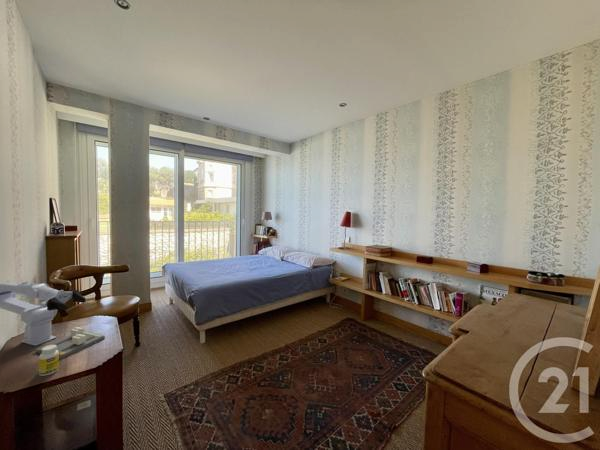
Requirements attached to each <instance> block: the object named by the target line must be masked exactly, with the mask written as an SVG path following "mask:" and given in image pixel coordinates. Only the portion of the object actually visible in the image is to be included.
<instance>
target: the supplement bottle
mask: <svg viewBox="0 0 600 450" xmlns="http://www.w3.org/2000/svg"><path fill="white" fill-rule="evenodd" d="M56 349H57V346H56V345H49V346H46V347H44V348H42V354H41V353H40V355H39V356H38V357H39V358H38V375H39V376H41V377H42V376H45V377H46V376H49V375H50V376H51V375H52V374H54V373H56V372H57V371H58V370H59V365H60V364H59V362H60V359H59V351H58V350H56Z"/></svg>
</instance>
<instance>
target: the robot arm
mask: <svg viewBox="0 0 600 450" xmlns="http://www.w3.org/2000/svg"><path fill="white" fill-rule="evenodd" d="M17 295H19V296H26V297H27V298H28V300H32V299H39V300H42V301H41V302H40V304H39V305H35V304H33V303H29V302H27V301H24V300H20V299H18V298H16V297H17ZM71 299H72V303H76V302H77V303H82V304H83V303H86V297H85V296H83V295H82V294H81V291H80V290H79V289H75V290H72V291H65V290H64V289H61V290H58V289H55V288H52V287H50V285H49V284H48V283H46V282H41V283H36V282H32V283H30V282H29V281H23V282H21V283H16V282H14V281H12V280H11V281H9V280H8V281H4V282H0V309H1V310H5V311H8V312H11V313H14V314H17V315H20V318H21V319H20V320H21V322H23V323H25V326H24V330H23V331H24V335H23V336H24V338H23V339H22V340H21V342H22V343H24V344H27V345H32V346H38V345H42V344H44V343H46V342H49V341H52V340H54V339H56V338H57V336H55V335H52V320H54V318H55V317H56V315H57V312H58V310H60V311H63V310H64V311H66V310H68V304H67V302H68V301H69V300H71Z"/></svg>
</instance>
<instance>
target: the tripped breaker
mask: <svg viewBox="0 0 600 450" xmlns="http://www.w3.org/2000/svg"><path fill="white" fill-rule="evenodd" d="M84 342H86V335H82V334H76V335H75V336H73V337H72V344H76V345H80V344H82V343H84Z"/></svg>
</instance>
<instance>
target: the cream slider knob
mask: <svg viewBox="0 0 600 450" xmlns="http://www.w3.org/2000/svg"><path fill="white" fill-rule="evenodd" d="M84 331H85V330H84V328H83V327H79V326H77V327H73V328H72V329H70V335H69V336H75V335H76V334H82V335H83V334H84Z"/></svg>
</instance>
